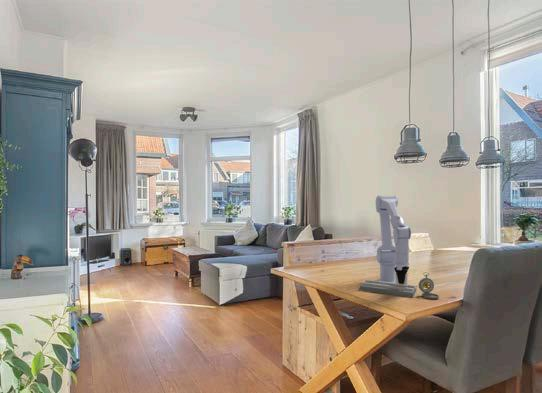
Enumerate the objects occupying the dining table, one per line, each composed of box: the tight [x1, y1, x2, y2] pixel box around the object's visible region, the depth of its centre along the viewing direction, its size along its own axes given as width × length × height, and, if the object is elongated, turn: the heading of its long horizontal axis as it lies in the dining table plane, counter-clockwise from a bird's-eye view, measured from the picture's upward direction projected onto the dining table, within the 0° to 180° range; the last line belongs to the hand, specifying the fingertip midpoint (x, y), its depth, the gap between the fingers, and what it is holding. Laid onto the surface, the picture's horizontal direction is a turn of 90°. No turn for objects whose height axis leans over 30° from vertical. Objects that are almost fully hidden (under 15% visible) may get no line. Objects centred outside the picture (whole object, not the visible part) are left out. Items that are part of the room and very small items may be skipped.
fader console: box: [359, 279, 417, 298], centre depth 158 cm, size 12×23×3 cm, turn 60°
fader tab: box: [395, 273, 409, 288], centre depth 155 cm, size 4×5×6 cm
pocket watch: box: [418, 272, 440, 300], centre depth 148 cm, size 8×8×10 cm
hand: (401, 282), depth 155 cm, fingers closed on fader tab, 2 cm apart
